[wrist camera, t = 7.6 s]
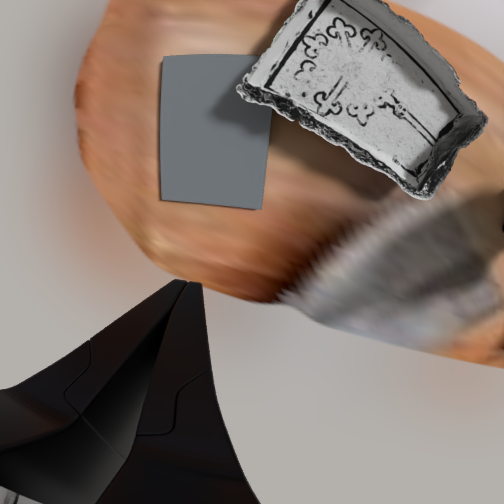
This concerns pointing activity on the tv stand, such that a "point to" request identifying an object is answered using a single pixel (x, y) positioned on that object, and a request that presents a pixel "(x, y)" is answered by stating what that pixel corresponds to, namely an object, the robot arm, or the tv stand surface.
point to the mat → (212, 132)
